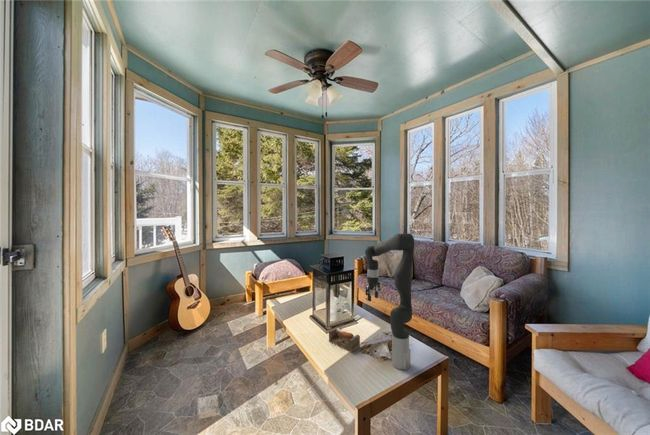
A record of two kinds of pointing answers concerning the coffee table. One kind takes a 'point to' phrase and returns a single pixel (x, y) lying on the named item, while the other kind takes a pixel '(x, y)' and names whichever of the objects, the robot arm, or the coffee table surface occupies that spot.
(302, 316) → the coffee table surface
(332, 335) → the keeper cradle
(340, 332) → the bull figurine
